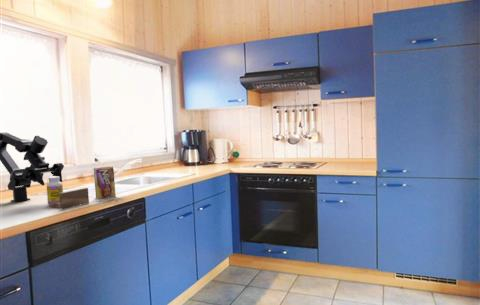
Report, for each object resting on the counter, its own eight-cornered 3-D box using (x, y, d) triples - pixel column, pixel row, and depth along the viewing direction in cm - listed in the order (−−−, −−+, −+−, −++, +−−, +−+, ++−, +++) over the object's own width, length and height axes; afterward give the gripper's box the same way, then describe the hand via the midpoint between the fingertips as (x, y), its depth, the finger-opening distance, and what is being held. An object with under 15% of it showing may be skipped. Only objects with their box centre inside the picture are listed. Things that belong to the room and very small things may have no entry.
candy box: (112, 195, 190) (111, 166, 189) (116, 196, 187) (114, 166, 186) (95, 198, 185) (93, 167, 184) (98, 199, 181) (96, 168, 180)
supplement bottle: (49, 206, 168) (47, 178, 168) (46, 204, 174) (44, 177, 173) (65, 203, 172) (63, 176, 171) (62, 201, 178) (60, 175, 177)
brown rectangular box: (47, 207, 165) (46, 192, 165) (74, 201, 178) (73, 187, 177) (62, 209, 161) (61, 193, 160) (88, 202, 173) (87, 188, 172)
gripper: (47, 169, 188) (63, 191, 184) (10, 174, 172) (27, 198, 168) (56, 153, 184) (72, 176, 180) (19, 157, 168) (36, 181, 163)
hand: (52, 183), depth 173 cm, fingers open, 9 cm apart
